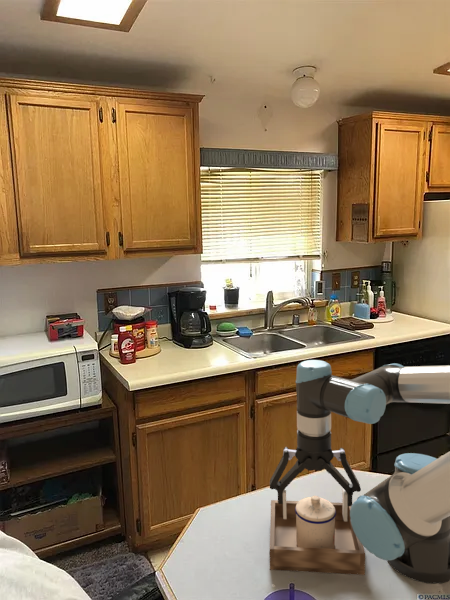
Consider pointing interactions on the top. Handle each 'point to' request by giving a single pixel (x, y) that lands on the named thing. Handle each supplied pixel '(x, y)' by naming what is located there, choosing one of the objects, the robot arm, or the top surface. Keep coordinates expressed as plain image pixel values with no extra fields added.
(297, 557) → the walnut box
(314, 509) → the teacup with lid
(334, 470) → the robot arm
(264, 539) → the top surface
